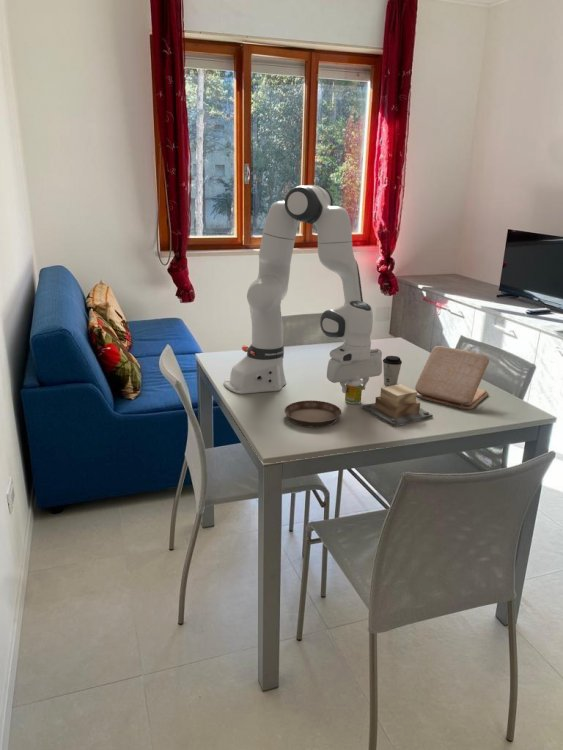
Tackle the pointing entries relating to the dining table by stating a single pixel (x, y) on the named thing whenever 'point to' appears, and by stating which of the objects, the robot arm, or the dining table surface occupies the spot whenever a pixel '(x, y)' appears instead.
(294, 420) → the plant saucer
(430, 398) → the case
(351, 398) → the supplement bottle
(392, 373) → the coffee cup
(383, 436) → the dining table surface
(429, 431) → the dining table surface
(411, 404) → the tower
